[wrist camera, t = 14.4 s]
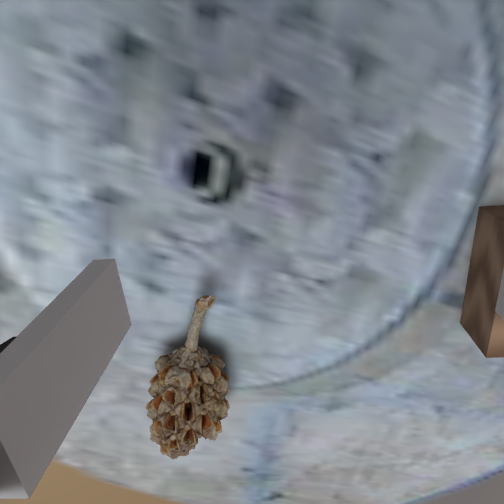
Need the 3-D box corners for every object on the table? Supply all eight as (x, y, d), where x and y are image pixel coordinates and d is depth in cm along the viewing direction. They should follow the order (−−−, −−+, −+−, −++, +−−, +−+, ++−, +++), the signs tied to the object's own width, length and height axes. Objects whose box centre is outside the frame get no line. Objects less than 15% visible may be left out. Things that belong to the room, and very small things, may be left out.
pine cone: (230, 414, 52) (220, 484, 43) (160, 406, 53) (136, 474, 44) (244, 271, 43) (236, 322, 34) (160, 261, 43) (129, 310, 34)
